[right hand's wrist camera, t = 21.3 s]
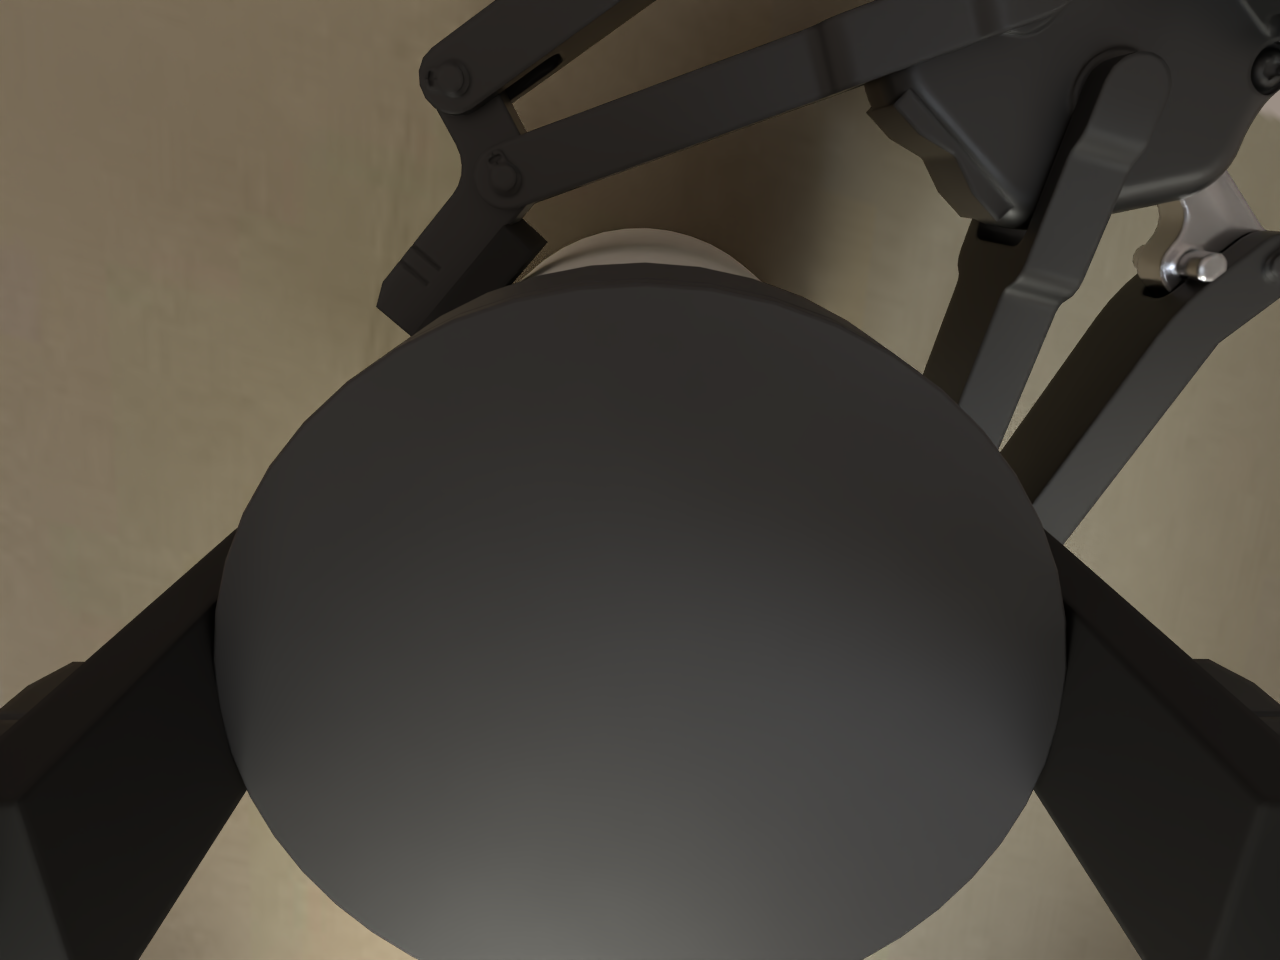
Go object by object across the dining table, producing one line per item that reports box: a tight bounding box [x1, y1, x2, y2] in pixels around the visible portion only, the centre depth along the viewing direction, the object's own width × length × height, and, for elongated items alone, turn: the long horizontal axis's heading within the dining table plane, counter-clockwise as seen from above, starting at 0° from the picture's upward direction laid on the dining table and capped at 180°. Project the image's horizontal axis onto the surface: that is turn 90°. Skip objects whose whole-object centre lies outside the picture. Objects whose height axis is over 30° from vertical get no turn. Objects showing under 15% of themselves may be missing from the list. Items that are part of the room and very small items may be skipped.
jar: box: [519, 228, 760, 282], centre depth 18 cm, size 10×10×15 cm
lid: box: [213, 262, 1067, 960], centre depth 11 cm, size 10×10×2 cm
